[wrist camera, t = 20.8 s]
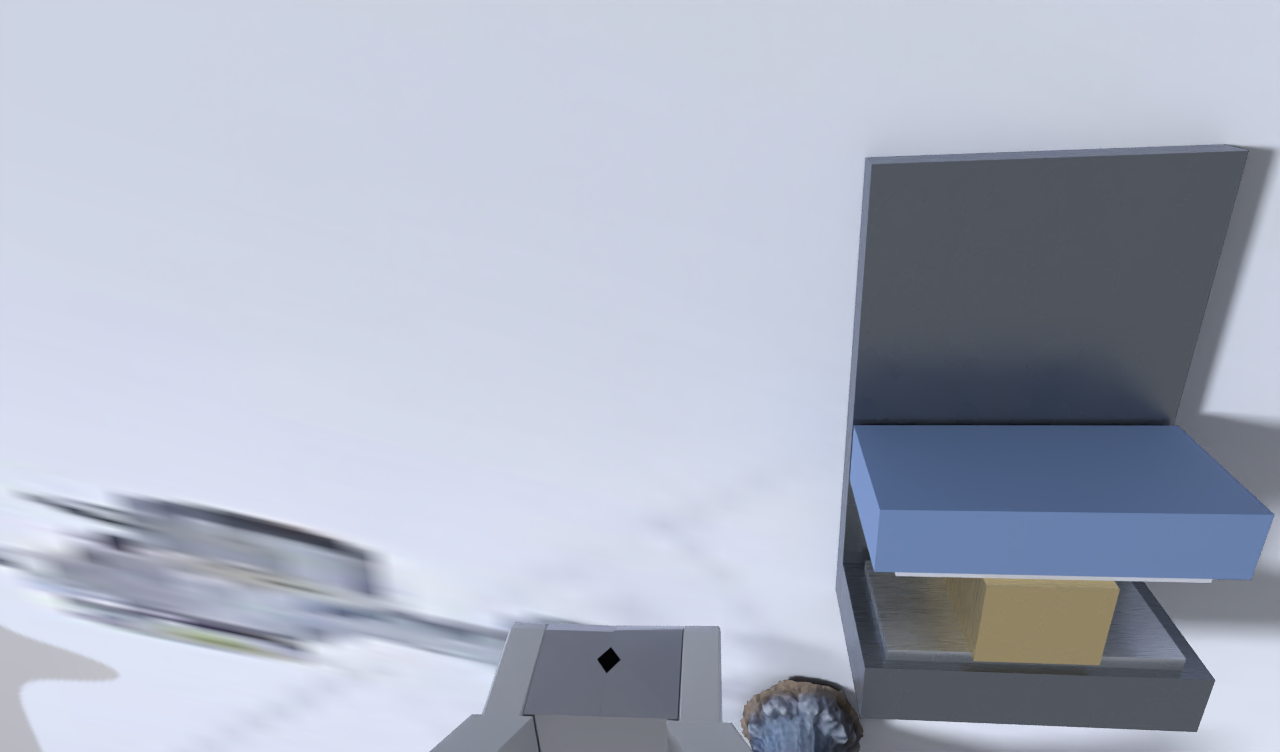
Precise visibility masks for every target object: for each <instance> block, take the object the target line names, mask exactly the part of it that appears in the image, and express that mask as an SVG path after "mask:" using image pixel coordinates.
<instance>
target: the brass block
mask: <svg viewBox="0 0 1280 752" xmlns="http://www.w3.org/2000/svg"><path fill="white" fill-rule="evenodd" d="M942 580H943V582H944V585H945V587H946V590H947V593H948V595H949V598H950V601H951V603H952V606H953V608H954V611H955V614H956V616H957V619H958V622H959V624H960V627H961V629H962V632H963V635H964V637H965V640H966V643H967V645H968V648H969V650H970V653H971V656H972V658H973V661H984V662H1014V663H1044V664H1074V665H1100V662H1101V658H1102V654H1103V651H1104V647H1105V643H1106V639H1107V636H1108V632H1109V628H1110V625H1111V621H1112V617H1113V613H1114V610H1115V606H1116V602H1117V598H1118V595H1119V591H1120V589H1119V587H1118V586H1117V584H1116V583H1115V581H1100V580H1054V579H1009V578H963V577H942Z"/></svg>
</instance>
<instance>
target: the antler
mask: <svg viewBox="0 0 1280 752" xmlns="http://www.w3.org/2000/svg"><path fill="white" fill-rule="evenodd" d="M850 706H851V705H850V704H849V703H848V702H847V700H846V697H845V694H844V692H843V690H840V691H837V690H835V689H833V688H831V687H829V686H824V685H818V684H814V685H813V684H812V683H811V682H795V681H793V680H784V681H783V682H782V681H779V682H778V685H775V686H773V687H772V688H771V689H769V690H763V691H762V692H761V693H760V694H757V695H755V696H753V698H752V699H751V700H750V702H748V701H747V705H744V711H743V719H742V720H740V721H741V727H742V728H743V729H744V730H743V732H742V733H743V734H744V736H745V737H746V738H747V739H748V740H749V742H750V744H751V749H752V751H753V752H859V750H860V745H859V740H860V738H861V737H863V735H862V733H863V729H862V727H861V725H860V723H859V719H858V717H857V714H856V712H854V709H852V708H851V707H850Z"/></svg>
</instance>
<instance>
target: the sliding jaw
mask: <svg viewBox="0 0 1280 752" xmlns="http://www.w3.org/2000/svg"><path fill="white" fill-rule="evenodd" d="M850 483H851V486H852V490H853V494H854V498H855V502H856V505H857V509H858V513H859V517H860V520H861V524H862V528H863V532H864V536H865V539H866V543H867V547H868V551H869V554H870V558H871V562H872V566H873V570H874V572H895V574H896V576H918V577H963V578H1009V579H1054V580H1100V581H1145V582H1191V583H1212V580H1213V579H1231V580H1251V579H1252V576H1253V573H1254V570H1255V568H1256V565H1257V562H1258V559H1259V557H1260V554H1261V551H1262V548H1263V545H1264V543H1265V540H1266V537H1267V534H1268V531H1269V529H1270V526H1271V523H1272V520H1273V517H1274V514H1273V513H1272V512H1271V511H1270V510H1269V509H1267V508H1266V507H1265V506H1264V505H1263V504H1262V503H1261V502H1260V501H1259V500H1258V499H1257V498H1256V497H1254V496H1253V495H1252V494H1251V493H1250V492H1249V491H1248V490H1247V489H1246V488H1245V487H1244V486H1243V485H1241V484H1240V483H1239V482H1238V481H1237V480H1236V479H1235V478H1234V477H1233V476H1232V475H1231V474H1230V473H1229V472H1227V471H1226V470H1225V469H1224V468H1223V467H1222V466H1221V465H1220V464H1219V463H1218V462H1217V461H1216V460H1214V459H1213V458H1212V457H1211V456H1210V455H1209V454H1208V453H1207V452H1206V451H1205V450H1204V449H1203V448H1201V447H1200V446H1199V445H1198V444H1197V443H1196V442H1195V441H1194V440H1193V439H1192V438H1191V437H1190V436H1189V435H1187V434H1186V433H1185V432H1184V431H1183V430H1182V429H1181V428H1180V427H1179V426H1079V425H854V430H853V444H852V457H851V471H850Z"/></svg>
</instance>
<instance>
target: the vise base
mask: <svg viewBox="0 0 1280 752" xmlns="http://www.w3.org/2000/svg"><path fill="white" fill-rule="evenodd" d="M1248 152H1249V151H1248V150H1244V149H1241V148H1237V147H1234V146H1230V145H1226V144H1223V145H1196V146H1168V147H1141V148H1114V149H1086V150H1059V151H1032V152H1005V153H977V154H950V155H923V156H895V157H868V158H865V173H864V187H863V202H862V216H861V230H860V245H859V259H858V274H857V288H856V303H855V317H854V332H853V346H852V360H851V375H850V389H849V404H848V418H847V433H846V447H845V462H844V476H843V490H842V505H841V519H840V534H839V548H838V563H837V577H836V593H837V599H838V604H839V609H840V614H841V620H842V625H843V630H844V635H845V641H846V646H847V651H848V656H849V662H850V667H851V672H852V677H853V683H854V688H855V693H856V698H857V703H858V709H859V714H860V718H876V719H900V720H924V721H948V722H972V723H995V724H1019V725H1043V726H1067V727H1091V728H1114V729H1138V730H1162V731H1186V732H1197V730H1198V727H1199V724H1200V721H1201V719H1202V716H1203V713H1204V710H1205V707H1206V705H1207V702H1208V699H1209V696H1210V693H1211V691H1212V688H1213V685H1214V682H1215V679H1214V678H1213V676H1212V675H1211V674H1210V672H1209V671H1208V670H1207V668H1206V667H1205V665H1204V664H1203V663H1202V661H1201V660H1200V659H1199V657H1198V656H1197V654H1196V653H1195V652H1194V650H1193V649H1192V648H1191V646H1190V645H1189V644H1188V642H1187V641H1186V639H1185V638H1184V637H1183V635H1182V634H1181V633H1180V631H1179V630H1178V628H1177V627H1176V626H1175V624H1174V623H1173V622H1172V620H1171V619H1170V617H1169V616H1168V615H1167V613H1166V612H1165V611H1164V609H1163V608H1162V606H1161V605H1160V604H1159V602H1158V601H1157V600H1156V598H1155V597H1154V595H1153V594H1152V593H1151V591H1150V590H1149V589H1148V587H1147V586H1146V584H1145V583H1144V582H1143V581H1115V583H1116V584H1117V586H1118V587H1119V589H1120V591H1119V595H1118V598H1117V602H1116V606H1115V610H1114V613H1113V617H1112V621H1111V625H1110V628H1109V632H1108V636H1107V639H1106V643H1105V647H1104V651H1103V654H1102V658H1101V662H1100V665H1074V664H1044V663H1014V662H984V661H973V658H972V656H971V653H970V650H969V648H968V645H967V643H966V640H965V637H964V635H963V632H962V629H961V627H960V624H959V622H958V619H957V616H956V614H955V611H954V608H953V606H952V603H951V601H950V598H949V595H948V593H947V590H946V587H945V585H944V582H943V580H942V577H918V576H896V574H895V572H874V570H873V566H872V562H871V558H870V554H869V551H868V547H867V543H866V539H865V536H864V532H863V528H862V524H861V520H860V517H859V513H858V509H857V505H856V502H855V498H854V494H853V490H852V486H851V483H850V471H851V457H852V444H853V430H854V425H1079V426H1173V425H1174V421H1175V418H1176V414H1177V411H1178V407H1179V403H1180V400H1181V396H1182V392H1183V389H1184V385H1185V381H1186V378H1187V374H1188V370H1189V367H1190V363H1191V359H1192V356H1193V352H1194V349H1195V345H1196V341H1197V338H1198V334H1199V330H1200V327H1201V323H1202V319H1203V316H1204V312H1205V308H1206V305H1207V301H1208V297H1209V294H1210V290H1211V287H1212V283H1213V279H1214V276H1215V272H1216V268H1217V265H1218V261H1219V257H1220V254H1221V250H1222V246H1223V243H1224V239H1225V236H1226V232H1227V228H1228V225H1229V221H1230V217H1231V214H1232V210H1233V206H1234V203H1235V199H1236V195H1237V192H1238V188H1239V184H1240V181H1241V177H1242V174H1243V170H1244V166H1245V163H1246V159H1247V155H1248Z"/></svg>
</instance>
